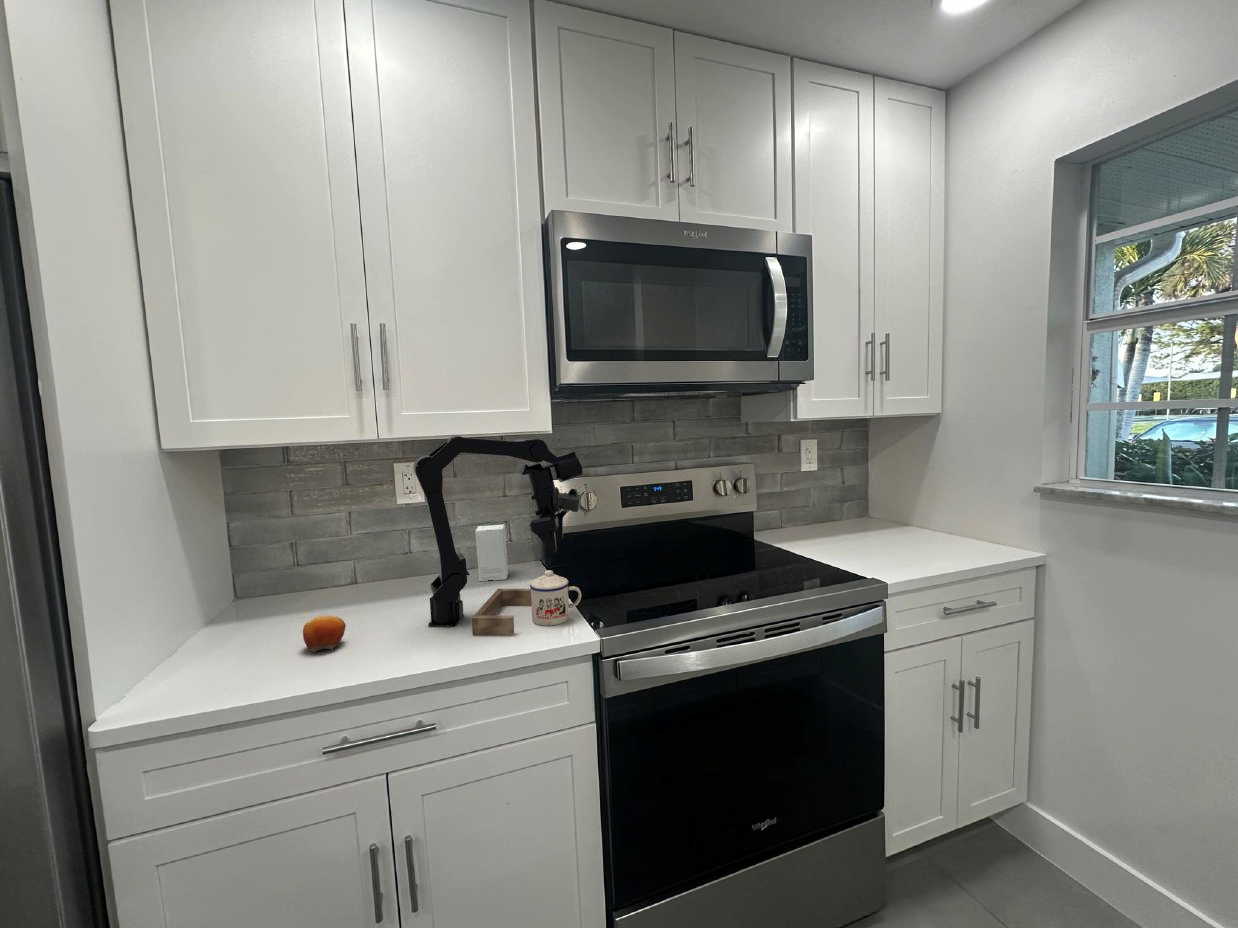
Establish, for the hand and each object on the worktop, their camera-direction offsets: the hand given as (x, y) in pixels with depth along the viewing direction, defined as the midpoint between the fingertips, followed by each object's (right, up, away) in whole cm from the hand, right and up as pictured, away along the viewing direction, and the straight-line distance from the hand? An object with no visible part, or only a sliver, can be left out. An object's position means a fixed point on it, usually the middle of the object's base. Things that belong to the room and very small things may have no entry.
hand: (557, 545), depth 138 cm
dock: (-12, -16, -9) cm, 22 cm away
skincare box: (-22, -13, +24) cm, 35 cm away
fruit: (-47, -18, -22) cm, 55 cm away
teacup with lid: (+1, -16, -10) cm, 19 cm away
